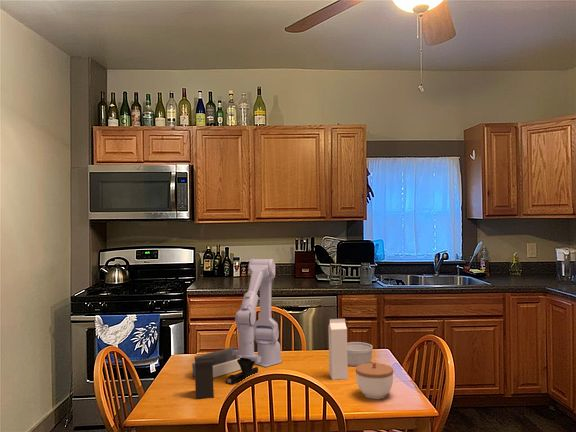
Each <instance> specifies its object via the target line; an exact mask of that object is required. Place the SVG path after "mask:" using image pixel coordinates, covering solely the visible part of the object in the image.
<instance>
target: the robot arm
mask: <svg viewBox="0 0 576 432" xmlns="http://www.w3.org/2000/svg"><path fill="white" fill-rule="evenodd" d="M248 271H249V275H250V277H249V278H250V279H249V285H248V289H247V292H245V293H244V294H243V298H242V300H241V305H240V308H239V310H237V311H236V313H235V318H234V321H235V325H236V329H237V332H238V333H237V335H238V336H237V338H238V339H237V340H238V349H236V350H233V351H232V355H233V356H236V358H237V359H238V360H237V362H238V363H239V365H240V367H241V370H240V371H241V372H242V374H243V377H244V378H246V377H248V376H250V375H251V371H252V368H254V365H258V366H260V367H264V368H267V367H270V366H274V365H276V364H277V365H278V364H280V363H282V362H283V360H282V359H281V358H282V357H281V356H282V355H281V354H282V353H281V352H282V351H281V344H280V342H279V341H278V339H279V334H280V331H279V324H278V322H277V321H276V320H275V319H274V318H272V282H273V281H272V280H273V279H276V263H275V260H274V259H273V258H251V259H250V260H249V262H248ZM258 291H259V295H258ZM258 301H259V318H258V319H257V310H256V309H257V306H258ZM254 341H255V342H254ZM255 343H256V344H257V353H255ZM239 358H240V359H239Z"/></svg>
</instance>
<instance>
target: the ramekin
mask: <svg viewBox="0 0 576 432" xmlns="http://www.w3.org/2000/svg"><path fill="white" fill-rule="evenodd" d="M372 355H373V345H372V344H370V343H367V342H361V341H350V342H347V362H348V367H349V366H350V367H357V366H358V365H361V364H365V363H372V358H373V357H372Z"/></svg>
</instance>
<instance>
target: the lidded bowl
mask: <svg viewBox="0 0 576 432" xmlns="http://www.w3.org/2000/svg"><path fill="white" fill-rule="evenodd" d="M355 374H356V375H355V377H356V383H357V387H358V389H359V391H361V393H362V394H363V395H364V397H366V398H367V399H373V400H374V399H375V400H378V399H379V400H380V399H384V398H386V396H387V394H388V393H389V392H391V389H392V388H393V387H392V386H393V382H394V368H393V367H392V366H390V365H387V364H385V363H379V362H374V361H373V362H370V363H365V364H361V365H358V366H355Z"/></svg>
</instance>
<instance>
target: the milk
mask: <svg viewBox="0 0 576 432" xmlns="http://www.w3.org/2000/svg"><path fill="white" fill-rule="evenodd" d="M327 326H328V367H329V368H328V369H329V371H328V372H329V373H328V374H329V376H330V378H331V380H332V381H335V380H338V379H340V380H348V379H349V371H348V370H349V369H348V367H349V365H348V362H347V343H348V327H347V324H346V318H335V319H334V318H330V319H329V324H328V325H327Z"/></svg>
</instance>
